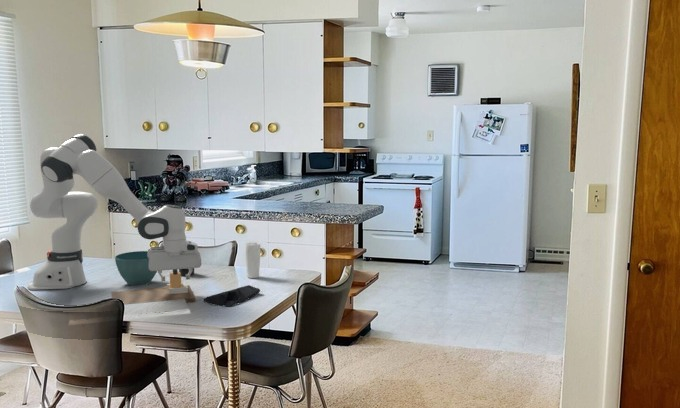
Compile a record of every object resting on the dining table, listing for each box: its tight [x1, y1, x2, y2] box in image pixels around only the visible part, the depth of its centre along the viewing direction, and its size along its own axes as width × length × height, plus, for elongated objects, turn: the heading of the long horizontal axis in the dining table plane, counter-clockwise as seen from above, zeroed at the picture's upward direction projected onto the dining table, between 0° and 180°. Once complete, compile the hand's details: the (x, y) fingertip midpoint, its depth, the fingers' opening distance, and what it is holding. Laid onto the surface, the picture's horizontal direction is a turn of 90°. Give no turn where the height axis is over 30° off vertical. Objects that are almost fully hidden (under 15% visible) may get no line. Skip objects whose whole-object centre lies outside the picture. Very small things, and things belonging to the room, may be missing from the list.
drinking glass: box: [244, 242, 262, 279], centre depth 275 cm, size 7×7×15 cm
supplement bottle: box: [178, 268, 195, 277], centre depth 280 cm, size 7×7×12 cm
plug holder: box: [166, 282, 188, 294], centre depth 247 cm, size 7×8×2 cm
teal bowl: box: [114, 250, 158, 287], centre depth 263 cm, size 18×18×12 cm
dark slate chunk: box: [203, 285, 261, 307], centre depth 242 cm, size 15×22×5 cm
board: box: [110, 284, 197, 305], centre depth 241 cm, size 30×20×2 cm, turn 110°
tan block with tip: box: [169, 269, 182, 288], centre depth 246 cm, size 4×4×10 cm
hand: (175, 280), depth 246 cm, fingers open, 8 cm apart
